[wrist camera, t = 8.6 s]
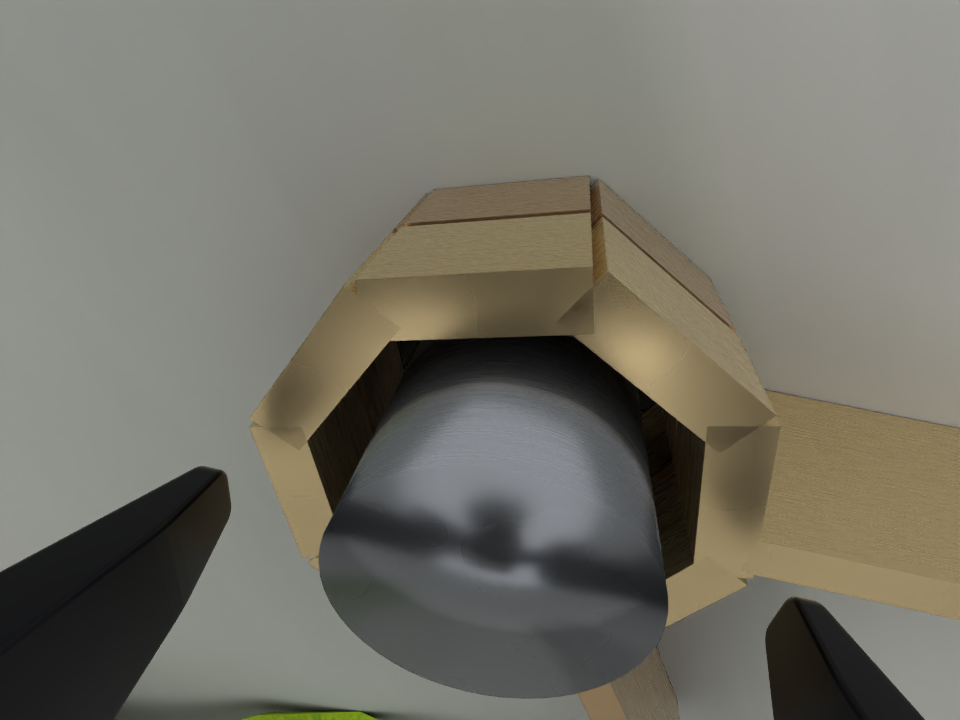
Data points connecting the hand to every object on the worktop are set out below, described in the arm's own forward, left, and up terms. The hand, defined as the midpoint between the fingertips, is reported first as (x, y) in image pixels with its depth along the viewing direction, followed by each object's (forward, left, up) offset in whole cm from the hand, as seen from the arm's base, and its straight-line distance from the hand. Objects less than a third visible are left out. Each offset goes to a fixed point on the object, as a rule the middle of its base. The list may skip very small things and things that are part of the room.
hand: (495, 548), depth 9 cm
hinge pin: (0, 0, -6) cm, 6 cm away
